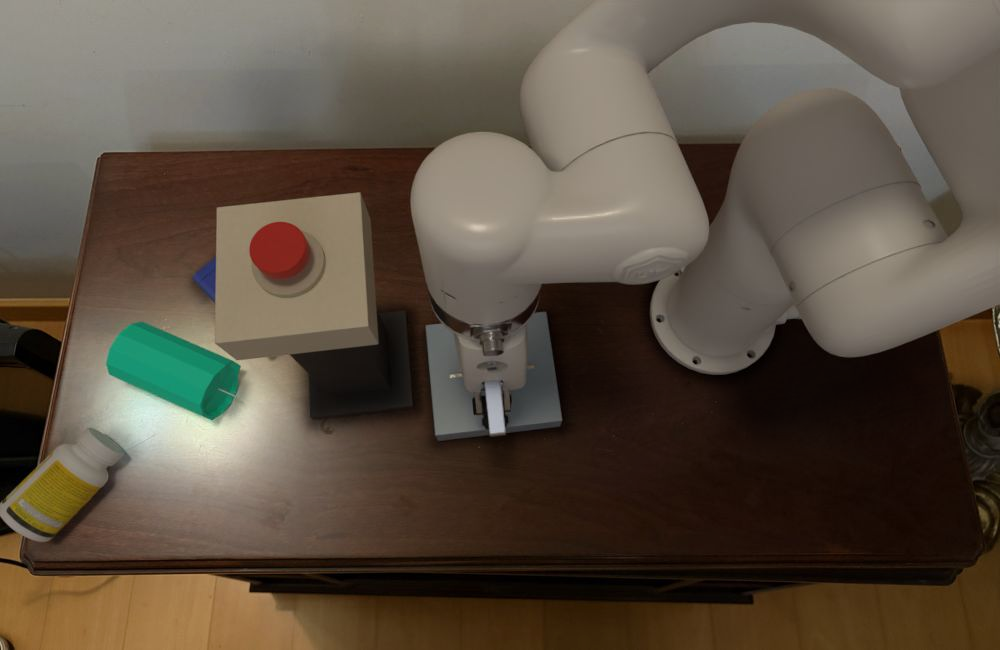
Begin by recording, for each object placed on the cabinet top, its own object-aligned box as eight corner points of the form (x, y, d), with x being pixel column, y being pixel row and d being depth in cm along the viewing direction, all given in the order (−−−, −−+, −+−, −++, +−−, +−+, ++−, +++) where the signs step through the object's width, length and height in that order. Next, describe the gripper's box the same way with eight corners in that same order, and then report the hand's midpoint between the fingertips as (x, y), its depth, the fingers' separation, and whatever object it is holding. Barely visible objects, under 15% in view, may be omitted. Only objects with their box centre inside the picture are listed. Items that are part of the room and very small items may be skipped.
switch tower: (407, 313, 73) (358, 187, 49) (414, 408, 70) (366, 323, 46) (310, 324, 73) (213, 202, 49) (313, 420, 69) (210, 340, 45)
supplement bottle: (56, 551, 64) (138, 467, 66) (2, 530, 60) (91, 441, 62) (40, 519, 68) (118, 439, 70) (-11, 497, 64) (73, 413, 66)
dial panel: (544, 321, 73) (546, 310, 70) (560, 426, 69) (562, 420, 66) (428, 334, 72) (425, 324, 69) (437, 441, 69) (434, 435, 66)
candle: (136, 378, 72) (239, 424, 70) (96, 378, 66) (208, 428, 64) (159, 324, 72) (263, 368, 70) (122, 318, 66) (234, 366, 64)
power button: (309, 226, 47) (304, 218, 46) (311, 276, 46) (306, 269, 44) (254, 232, 47) (248, 224, 45) (255, 282, 45) (248, 275, 44)
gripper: (560, 402, 44) (540, 448, 60) (524, 161, 49) (515, 263, 66) (438, 416, 43) (452, 459, 59) (416, 171, 49) (434, 271, 65)
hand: (485, 356), depth 62 cm, fingers open, 9 cm apart
